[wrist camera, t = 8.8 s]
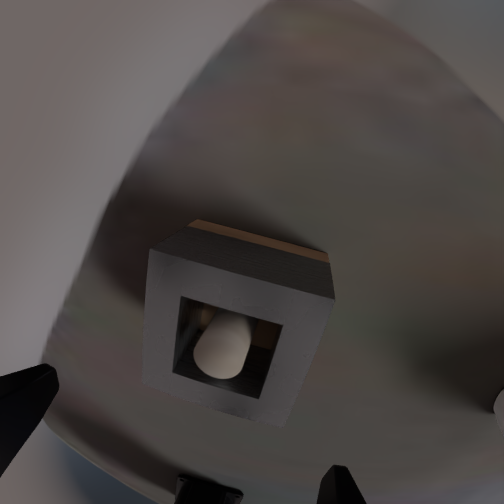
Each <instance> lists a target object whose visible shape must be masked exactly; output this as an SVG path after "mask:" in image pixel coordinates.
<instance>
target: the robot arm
mask: <svg viewBox="0 0 504 504" xmlns="http://www.w3.org/2000/svg"><path fill="white" fill-rule="evenodd" d="M58 390H59V381H58V377H57V372H56V369H55V368H54V367H52V366H50V365H49V364H46V363H44V364H40V365H37V366H34V367H30V368H27V369H24V370H21V371H17V372H14V373H11V374H7V375H4V376H0V477H1V476H2V474H3V473H4V471H5V470H6V468H7V467H8V466H9V464H10V463H11V461H12V460H13V458H14V457H15V456H16V454H17V453H18V451H19V450H20V449H21V447H22V446H23V445H24V443H25V442H26V440H27V439H28V438H29V436H30V435H31V433H32V432H33V431H34V430H35V428H36V427H37V425H38V424H39V423H40V421H41V419H42V418H43V416H44V414H45V412H46V411H47V409H48V407H49V406H50V404H51V402H52V401H53V399H54V397H55V396H56V394H57V392H58ZM243 495H244V494H243V493H242V492H239V491H235V490H231V489H227V488H224V487H220V486H216V485H213V484H210V483H206V482H203V481H200V480H197V479H194V478H191V477H188V476H185V475H179V476H178V478H177V485H176V494H175V503H174V504H240V502H241V500H242V498H243ZM317 504H366V502H365V500H364V498H363V496H362V494H361V492H360V491H359V489H358V487H357V485H356V483H355V481H354V479H353V477H352V476H351V474H350V472H349V470H348V468H347V467H346V466H341V465H333V466H332V467H331V468H330V469H329V470H328V472H327V473H326V474H325V475H324V477H323V478H322V480H321V484H320V489H319V494H318V499H317Z"/></svg>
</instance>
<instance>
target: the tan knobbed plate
mask: <svg viewBox="0 0 504 504" xmlns="http://www.w3.org/2000/svg"><path fill="white" fill-rule="evenodd" d="M187 226H191V227H195V228H199V229H203V230H207V231H210V232H214V233H218V234H222V235H226V236H230V237H234V238H237V239H241V240H245V241H249V242H253V243H256V244H260V245H264V246H268V247H272V248H275V249H279V250H283V251H287V252H291V253H294V254H298V255H302V256H306V257H309V258H313V259H317V260H321V261H324V262H328V263H329V258H328V254H327V253H323V252H320V251H316V250H312V249H309V248H305V247H301V246H298V245H294V244H290V243H286V242H283V241H279V240H275V239H272V238H268V237H264V236H260V235H256V234H253V233H249V232H245V231H241V230H238V229H234V228H230V227H226V226H222V225H218V224H214V223H211V222H207V221H203V220H199V219H197V220H195V221H193V222H192V223H190V224H188V225H187ZM278 325H279V324H277V323H274V322H270V321H266V320H263V319H259V318H255V317H252V316H248V315H245V314H241V313H238V312H234V311H231V310H227V309H224V308H220V307H217V306H214V305H210V304H207V303H204V306H203V312H202V318H201V324H200V329H201V330H205V331H204V333H203V335H202V336H201V338H200V340H199V341H198V343H197V345H196V346H195V348H194V353H193V354H194V360H195V362H196V364H197V365H198V367H199V368H200V369H201V370H202V371H203V372H204V373H206V374H208V375H210V376H212V377H215V378H219V379H227V378H232V377H234V376H236V375H237V374H238V373H239V372H240V371H241V369H242V367H243V364H244V361H245V358H246V355H247V352H248V350H249V347H250V344H252V345H256V346H259V347H263V348H267V349H270V350H271V348H272V345H273V341H274V338H275V335H276V332H277V328H278Z"/></svg>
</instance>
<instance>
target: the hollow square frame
mask: <svg viewBox="0 0 504 504" xmlns="http://www.w3.org/2000/svg"><path fill="white" fill-rule="evenodd" d="M334 302H335V294H334V287H333V280H332V274H331V267H330V263H328V262H324V261H321V260H317V259H313V258H309V257H306V256H302V255H298V254H294V253H291V252H287V251H283V250H279V249H275V248H272V247H268V246H264V245H260V244H256V243H253V242H249V241H245V240H241V239H237V238H234V237H230V236H226V235H222V234H218V233H214V232H210V231H207V230H203V229H199V228H195V227H191V226H186V227H184V228H183V229H181V230H179V231H178V232H176V233H174V234H173V235H171V236H169V237H168V238H166V239H165V240H163V241H161V242H160V243H158V244H157V245H155V246H153V247H152V248H150V249H149V259H148V270H147V281H146V294H145V309H144V326H143V351H142V384H144V385H147V386H149V387H152V388H154V389H157V390H159V391H162V392H165V393H167V394H170V395H173V396H175V397H178V398H181V399H184V400H187V401H190V402H193V403H196V404H199V405H202V406H205V407H208V408H211V409H214V410H217V411H221V412H224V413H227V414H231V415H234V416H238V417H241V418H245V419H249V420H253V421H256V422H260V423H264V424H268V425H273V426H277V427H281V428H283V427H284V425H285V422H286V420H287V418H288V416H289V414H290V412H291V409H292V407H293V405H294V403H295V400H296V398H297V396H298V393H299V391H300V389H301V387H302V384H303V382H304V379H305V377H306V375H307V372H308V370H309V367H310V365H311V363H312V360H313V358H314V355H315V353H316V350H317V348H318V345H319V342H320V340H321V337H322V335H323V332H324V329H325V327H326V324H327V321H328V319H329V316H330V313H331V311H332V308H333V305H334ZM204 303H207V304H210V305H214V306H217V307H220V308H224V309H227V310H231V311H234V312H238V313H241V314H245V315H248V316H252V317H255V318H259V319H263V320H266V321H270V322H274V323H277V324H279V325H278V328H277V332H276V335H275V338H274V341H273V345H272V348H271V350H270V349H267V348H263V347H259V346H256V345H252V344H250V347H249V350H248V352H247V355H246V358H245V361H244V364H243V367H242V369H241V371H240V372H239V373H238V374H237V375H236V376H234V377H232V378H227V379H219V378H215V377H212V376H210V375H208V374H206V373H204V372H203V371H202V370H201V369H200V368H199V367H198V365H197V364H196V362H195V360H194V354H193V353H194V348H195V346H196V345H197V343H198V341H199V340H200V338H201V336H202V335H203V333H204V331H205V330H201V329H200V324H201V318H202V312H203V306H204Z"/></svg>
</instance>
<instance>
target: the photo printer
mask: <svg viewBox="0 0 504 504" xmlns="http://www.w3.org/2000/svg"><path fill="white" fill-rule="evenodd" d="M493 409H494V413H495V415H496V421H497V424H498V426H499V428H500V430H501V433H502V435H503V437H504V389H503V390H502V391H501V392H500V394H499V395H498V397H497V398H496V401H495V403H494V408H493Z"/></svg>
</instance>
